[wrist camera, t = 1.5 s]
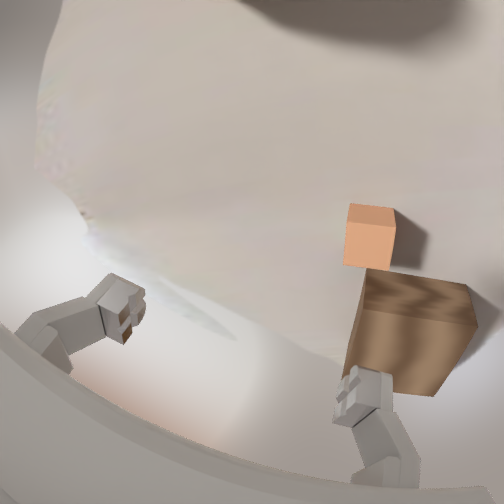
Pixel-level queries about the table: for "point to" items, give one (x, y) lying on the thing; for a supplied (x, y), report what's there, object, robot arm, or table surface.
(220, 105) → the table surface
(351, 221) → the cube
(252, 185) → the table surface
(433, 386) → the walnut box
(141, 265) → the table surface
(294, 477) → the robot arm
